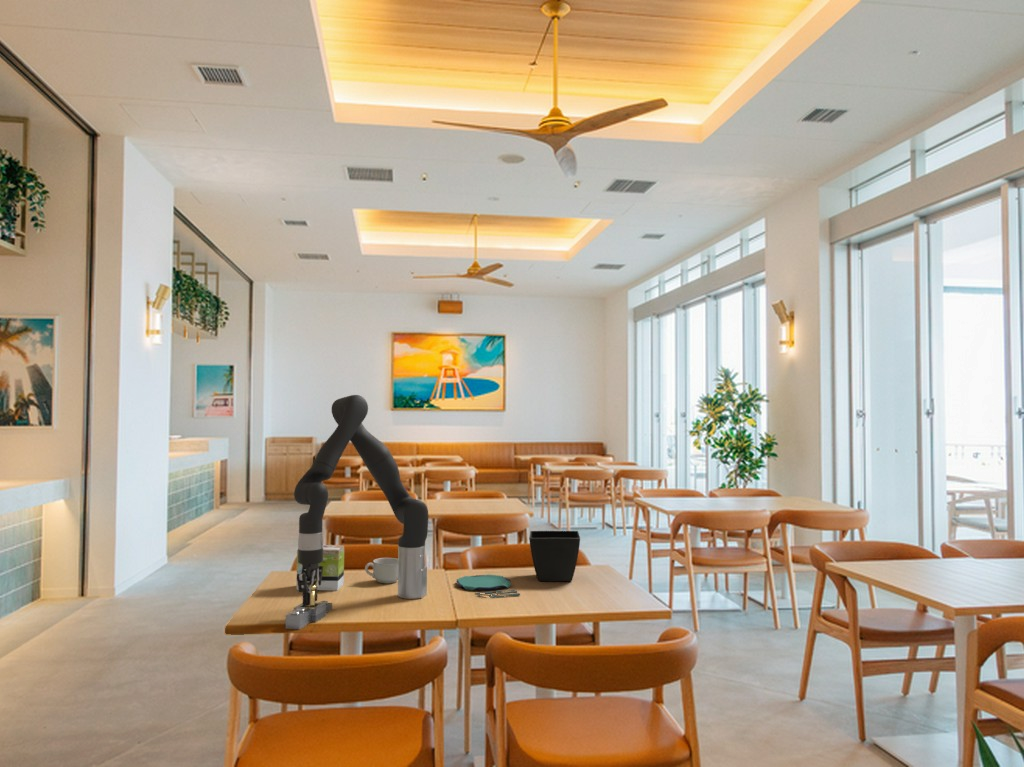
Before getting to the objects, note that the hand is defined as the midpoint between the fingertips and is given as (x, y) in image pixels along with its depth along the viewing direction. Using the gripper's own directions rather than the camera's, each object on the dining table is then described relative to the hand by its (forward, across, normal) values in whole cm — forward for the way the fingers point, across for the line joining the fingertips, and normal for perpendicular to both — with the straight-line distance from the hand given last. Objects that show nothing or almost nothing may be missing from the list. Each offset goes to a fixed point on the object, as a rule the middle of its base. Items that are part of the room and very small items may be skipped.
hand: (310, 602), depth 236 cm
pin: (+5, 0, 0) cm, 5 cm away
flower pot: (+5, +70, -67) cm, 97 cm away
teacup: (+5, +52, -5) cm, 52 cm away
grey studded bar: (+5, 0, 0) cm, 5 cm away
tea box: (+5, +39, +14) cm, 42 cm away
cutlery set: (+5, +49, -45) cm, 67 cm away
